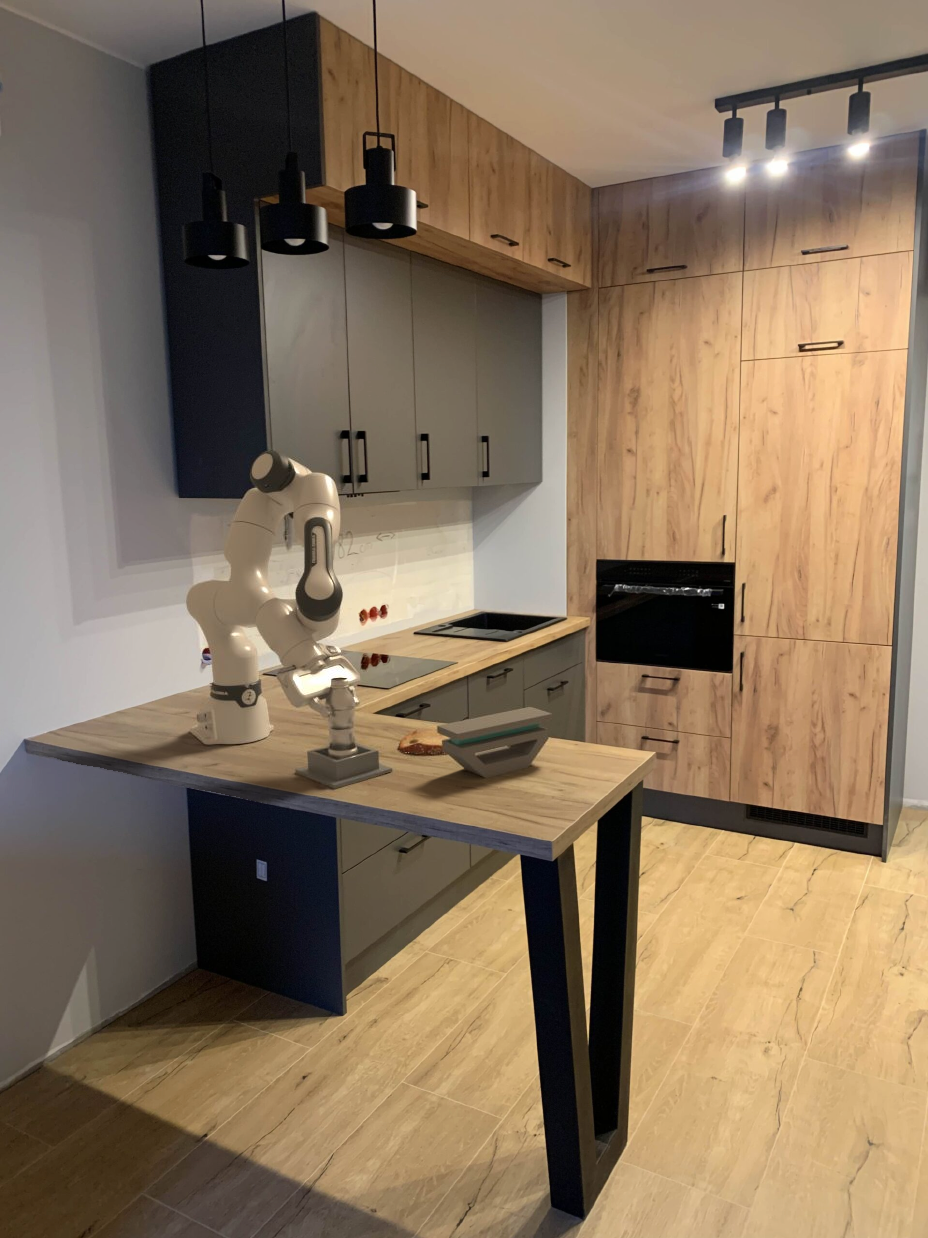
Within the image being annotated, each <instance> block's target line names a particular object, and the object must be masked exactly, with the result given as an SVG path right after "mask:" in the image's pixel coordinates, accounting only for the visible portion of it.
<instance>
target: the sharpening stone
mask: <svg viewBox="0 0 928 1238" xmlns="http://www.w3.org/2000/svg"><path fill="white" fill-rule="evenodd" d="M551 721H553V713H551V712H548V711H544V710H542V709H539V708H537V707H536V708H535V707H533V706H528V707H523V708H519V709H518V708H517V709H513V710H507V711H504V712H497V713H493V714H488V715H482V716H479V717H474V718H468V719H463V720H458V721H455V722H450V723H445V724H440V725H436V728H437V729H436V730H437V733H439V734H441V735H444V736H446V737H449V739H444V740H442V750H443V751H444V752H446V753H447V754H446V755H448V756H449V757H450V758H452V759H453V760H454V761H455V762H456V763H457V764H459V765H460V766H461V767H462V768H463V769H465V770H467V771H469V772H471V773H473V774H476V775H478V776H480V777H482V778H485V779H486V778H491V777H495V776H499V775H504V774H506V773H510V772H515V771H519V770H523V769H528V768H529V767H530V766H531V764H533V762H534V760H535V758H536V757H537V756H538V755H539V753H540V752H541V750H542V749H543V748H544V746H545V744H546V743H547V742H548V740H549V728H547V727H543V726H540V725H539V724H542V723H546V722H551Z"/></svg>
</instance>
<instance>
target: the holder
mask: <svg viewBox="0 0 928 1238" xmlns="http://www.w3.org/2000/svg"><path fill="white" fill-rule="evenodd" d="M356 746H357V749H358V755H354V756H351V757H347V758H343V759H340V760H336V759H333V758H330V757H328V750H329V745H327V746H323V747H320V748H319V747H318V748H314V749H311V750H308V751H307V750H306V752H307V765H306V766H302V767H298V768H295V773H296V774H298V775H300V776H302V777H305V778H307V779H310V780H312V781H314V782H317V783H319V782H320V783H319V784H322V785H324V786H326V785H327V787H329V788H331V789H334V790H336V789H339V788H343V787H346V786H349V785H352V784H356V783H359V782H363V781H367V780H369V779H372V778H376V776H377V777H379V775H380V776H382V774H383V775H386V774H385V773H387V774H389V773H388V772H390V773H393V768H392V767H390V766H386V765H385V764H381V763H380V759H379V758H380V757H379V750H377V749H375V748H372V747H369V746H365V745H363V744H360V743H357V742H356Z"/></svg>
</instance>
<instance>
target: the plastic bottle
mask: <svg viewBox="0 0 928 1238" xmlns="http://www.w3.org/2000/svg"><path fill="white" fill-rule="evenodd" d="M330 681H331V685H330V688H332V690H331V692H330V693H329V695H328V696H327V698H326V699H324V700H325V701H324V706H325V707H327V706H328V707H329V708H330V710H331V711H332V714H331V715H330V717H327V718H326V719H327V723H328V724H327V725H328V733H329V736H328V737H329V739H328V746H329V750H328V757H330V758H333V759H336V760H340V759H343V758H347V757H351V756H354V755H358V749H357V746H356V743H357V742H356V741H357V740H356V734H355V715H356V707H355V699H354V697H353V696H352V694H351V693H350V692H349V691H348V689H347V688H348V687H349V684H348V678H346V677H336V678H332V679H331V680H330Z"/></svg>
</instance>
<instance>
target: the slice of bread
mask: <svg viewBox="0 0 928 1238" xmlns="http://www.w3.org/2000/svg"><path fill="white" fill-rule="evenodd" d="M444 739H449V737H446V736H444V735H441V734H439V733H437V729H436V730H433V729H432V730H417V729H416V730H413V732H411V733H410V732H409V733H408V734H407V735H405V736H404V737H403V738H402V739H401V740H400V742H399V743H398V747H397V751H399V750H400V751H399V752H401V751H402V752H401V753H403V752H407V753H406V754H411V753H417V754H416V755H419V754H438V755H445V754H444V753H446V752H444V751H443V750H442V740H444ZM408 752H409V753H408Z"/></svg>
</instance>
